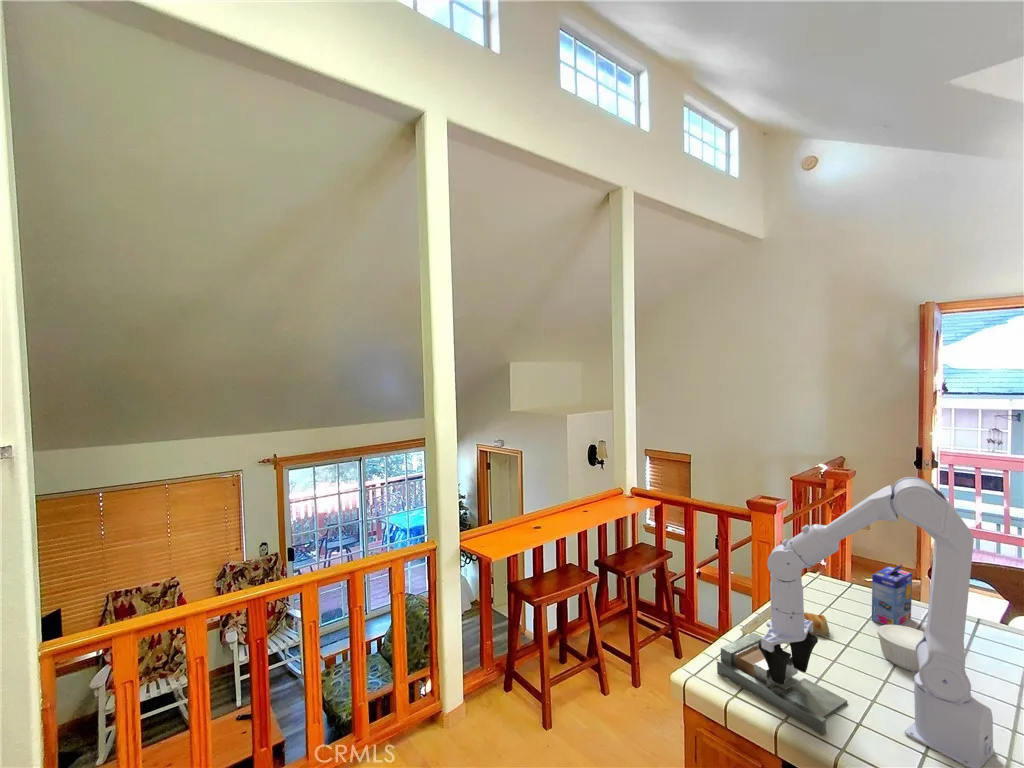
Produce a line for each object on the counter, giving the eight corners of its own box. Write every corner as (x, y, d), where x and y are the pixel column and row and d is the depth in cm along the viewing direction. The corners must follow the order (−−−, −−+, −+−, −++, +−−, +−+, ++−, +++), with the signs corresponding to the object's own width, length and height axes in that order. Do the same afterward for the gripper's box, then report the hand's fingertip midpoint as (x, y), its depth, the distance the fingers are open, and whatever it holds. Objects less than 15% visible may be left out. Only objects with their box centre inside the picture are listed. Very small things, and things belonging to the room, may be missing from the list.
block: (776, 675, 100) (776, 656, 100) (756, 686, 96) (756, 666, 96) (758, 665, 103) (758, 647, 103) (738, 675, 100) (738, 656, 100)
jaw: (797, 673, 98) (797, 654, 98) (766, 690, 93) (766, 670, 93) (783, 666, 101) (783, 647, 101) (753, 682, 96) (752, 662, 96)
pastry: (787, 633, 116) (787, 617, 116) (780, 620, 122) (780, 605, 123) (832, 638, 113) (831, 622, 113) (822, 624, 120) (822, 609, 120)
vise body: (859, 709, 89) (858, 683, 89) (822, 735, 82) (822, 707, 82) (754, 654, 107) (753, 632, 107) (717, 672, 101) (716, 649, 101)
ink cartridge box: (897, 631, 116) (896, 571, 116) (870, 621, 120) (869, 564, 120) (913, 619, 121) (912, 563, 121) (887, 611, 126) (886, 556, 125)
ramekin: (958, 680, 97) (958, 654, 97) (896, 674, 99) (895, 649, 99) (923, 649, 108) (922, 626, 108) (867, 644, 110) (867, 622, 110)
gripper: (788, 591, 102) (790, 655, 102) (745, 609, 94) (748, 677, 94) (823, 604, 96) (825, 672, 95) (780, 623, 88) (783, 697, 88)
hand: (789, 675), depth 94 cm, fingers open, 7 cm apart
